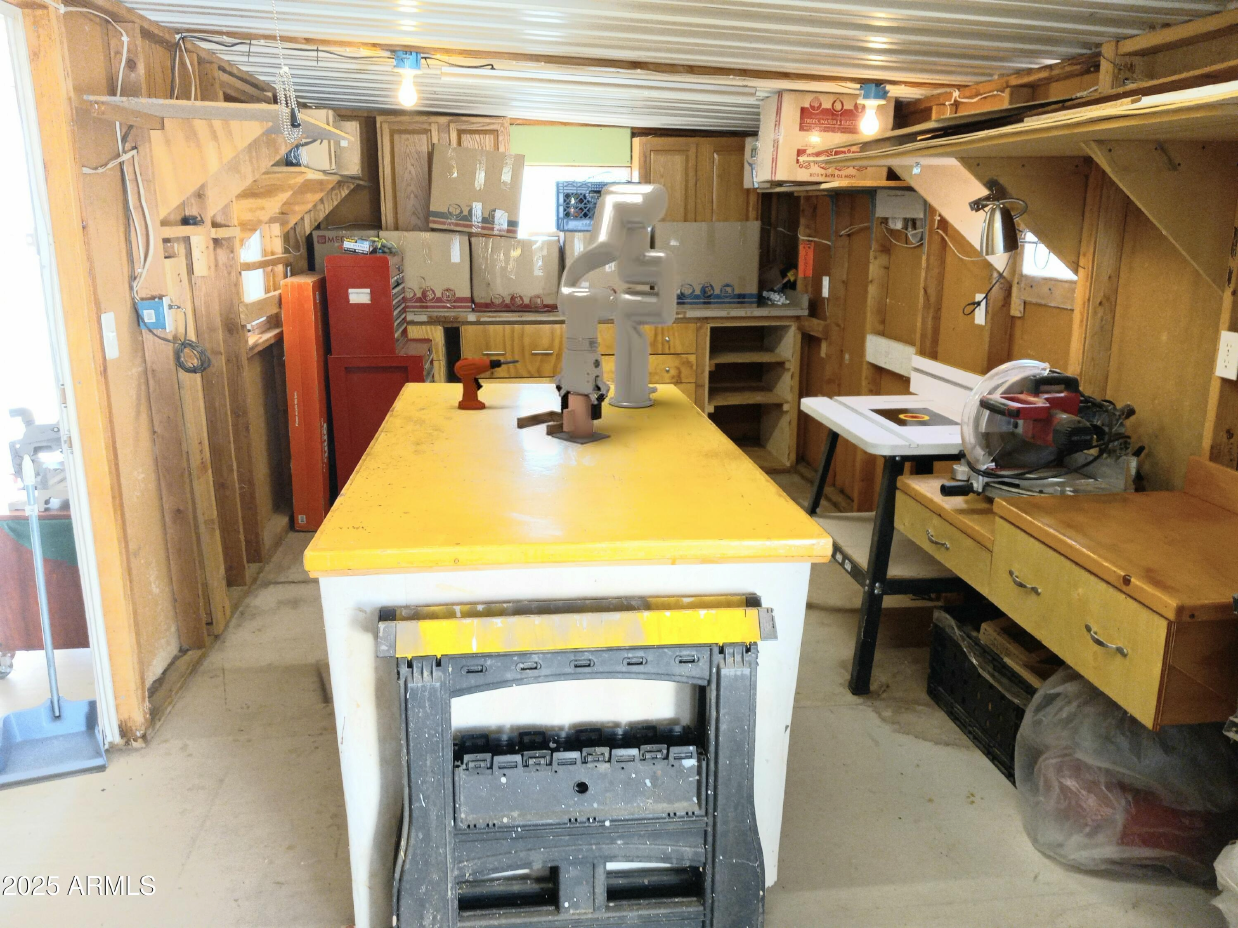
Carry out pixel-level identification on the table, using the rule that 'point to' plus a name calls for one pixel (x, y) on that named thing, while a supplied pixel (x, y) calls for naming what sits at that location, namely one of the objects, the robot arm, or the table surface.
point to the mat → (580, 440)
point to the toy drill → (475, 379)
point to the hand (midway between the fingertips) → (581, 416)
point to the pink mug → (578, 416)
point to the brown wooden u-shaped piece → (543, 421)
